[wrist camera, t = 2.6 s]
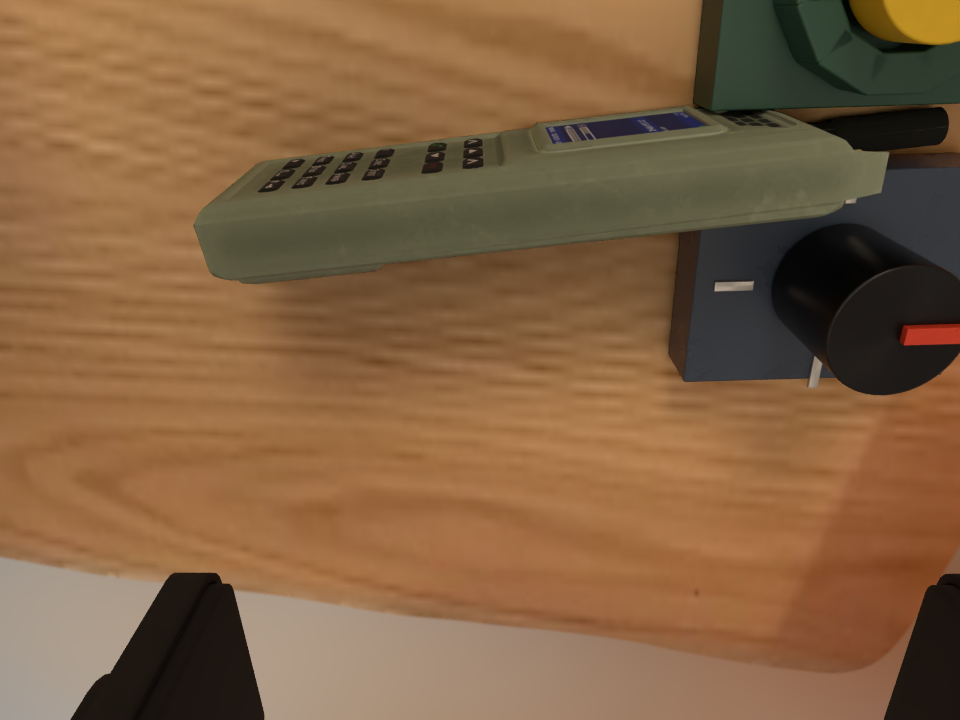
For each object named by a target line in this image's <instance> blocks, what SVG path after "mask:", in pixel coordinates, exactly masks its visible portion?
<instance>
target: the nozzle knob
mask: <svg viewBox="0 0 960 720" xmlns="http://www.w3.org/2000/svg"><path fill="white" fill-rule="evenodd" d="M772 300H773V305H774V308H775V311H776V313H777V315H778V317H779V319H780V320H781V321H782V323H783V324H784V325H785V326H786V327H787V328H788V329H789V330H790V331H791V332H792V333H793V334H794V335H795V336H796V337H797V338H798V339H799V340H800V341H801V342H802V343H803V344H804V345H805V346H806V347H807V348H808V349H809V350H810V351H811V352H812V354H813V355H814V356H815V357H816V358H817V359H818V360H819V361H820V362H821V363H822V364H823V365H824V366H825V367H826V368H827V369H828V370H829V371H830V372H831V373H832V374H833V375H834V376H835V377H836V378H837V379H838V380H839V381H840V382H841V383H842V384H844V385H845V386H847V387H849V388H851V389H853V390H855V391H858V392H861V393H865V394H871V395H892V394H897V393H902V392H905V391H909V390H911V389H914V388H916V387H919V386H921V385H923V384H925V383H927V382H928V381H930V380H931V379H933V378H934V377H936V376H937V375H939V374H940V373H941V372H942V371H944V370H945V369H946V368H947V367H948V366H949V365H950V364H951V363H952V362H953V360H954V359H955V358H956V357H957V356H958V354H959V353H960V280H959V279H958V278H957V277H956V276H955V275H953V274H952V273H951V272H949V271H947V270H945V269H944V268H942V267H940V266H938V265H936V264H935V263H933V262H931V261H929V260H927V259H926V258H924V257H922V256H920V255H918V254H917V253H915V252H913V251H911V250H909V249H908V248H906V247H904V246H902V245H900V244H899V243H897V242H895V241H893V240H891V239H890V238H888V237H886V236H884V235H882V234H881V233H879V232H877V231H875V230H873V229H871V228H869V227H866V226H863V225H858V224H837V225H832V226H828V227H825V228H822V229H820V230H817V231H815V232H813V233H811V234H810V235H808V236H806V237H805V238H803V239H802V240H801V241H800V242H798V243H797V244H796V245H795V246H794V247H793V248H792V249H791V250H790V251H789V252H788V253H787V255H786V256H785V257H784V259H783V260H782V262H781V264H780V266H779V267H778V269H777V272H776V275H775V278H774V282H773V288H772Z"/></svg>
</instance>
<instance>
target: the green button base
mask: <svg viewBox="0 0 960 720" xmlns="http://www.w3.org/2000/svg"><path fill="white" fill-rule="evenodd" d="M693 103H694V104H697V105H699V106H701V107H704V108H706V109H708V110H710V111H736V110H767V109H799V108H831V107H863V106H895V105H927V104H958V103H960V41H959V42H955V43H951V44H944V45H927V44H914V43H902V42H891V41H886V40H883V39H880V38H877V37H876V36H874V35H872V34H870V33H869V32H868V31H867V30H865V29H864V28H863V27H862V26H861V24H860V23H859V22H858V21H857V19H856V17H855V16H854V14H853V12H852V9H851V7H850V4H849V0H703V8H702V18H701V28H700V39H699V49H698V59H697V69H696V79H695V89H694V99H693Z"/></svg>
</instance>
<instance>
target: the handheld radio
mask: <svg viewBox="0 0 960 720" xmlns="http://www.w3.org/2000/svg"><path fill="white" fill-rule="evenodd" d="M948 127H949V119H948V115H947V112H946V111H945V110H944V109H943V108H942V107H935V108H927V109H918V110H909V111H901V112H892V113H883V114H875V115H866V116H857V117H849V118H840V119H831V120H827V121H826V122H825V123H816V124H806V123H804V122H802V121H799V120H797V119H794V118H792V117H790V116H787V115H785V114H783V113H780V112H778V111H775V110H773V109H767V110H736V111H710V110H708V109H706V108H704V109H693V108H691V107H690V106H688V105H686V106H683V107H675V108H667V109H658V110H650V111H641V112H633V113H624V114H616V115H607V116H598V117H590V118H581V119H573V120H564V121H556V122H547V123H536V124H535V125H534V126H533V128H527V129H518V130H509V131H503V132H497V133H489V134H480V135H472V136H464V137H456V138H448V139H440V140H432V141H424V142H415V143H407V144H399V145H391V146H383V147H375V148H367V149H359V150H351V151H342V152H334V153H326V154H318V155H310V156H302V157H294V158H286V159H278V160H270V161H263V162H260V163H258V164H257V165H255V166H254V167H253V168H252V169H250V170H249V171H248V172H247V173H245V174H244V175H243V176H242V177H241V178H239V179H238V180H237V181H236V182H235V183H233V184H232V185H231V186H230V187H229V188H227V189H226V190H225V191H224V192H223V193H221V194H220V195H219V196H218V197H216V198H215V199H214V200H213V201H212V202H210V203H209V204H208V205H207V206H206V207H204V208H203V209H202V210H201V212H200V213H199V215H198V217H197V219H196V221H195V223H194V228H195V231H196V234H197V237H198V240H199V242H200V245H201V248H202V251H203V254H204V257H205V260H206V263H207V266H208V268H209V271H210V273H211V274H212V275H213V276H215V277H218V278H221V279H226V280H239V281H240V282H241V283H244V284H262V283H271V282H281V281H290V280H299V279H308V278H318V277H327V276H336V275H345V274H355V273H364V272H373V271H376V270H378V269H381V266H382V265H383V264H392V263H401V262H411V261H420V260H429V259H438V258H447V257H457V256H466V255H475V254H484V253H493V252H503V251H512V250H521V249H530V248H539V247H548V246H558V245H567V244H576V243H585V242H594V241H604V240H613V239H622V238H631V237H640V236H649V235H659V234H668V233H677V232H686V231H695V230H705V229H714V228H723V227H732V226H741V225H751V224H760V223H769V222H778V221H787V220H796V219H806V218H815V217H821V216H825V215H828V214H830V213H833V212H835V211H836V210H838V209H840V208H841V207H842V206H843V205H844V201H846V200H850V199H855V198H859V197H864V196H868V195H873V194H877V193H881V190H882V186H883V181H884V176H885V171H886V166H887V161H888V156H889V152H876V151H885V150H894V149H903V148H912V147H921V146H930V145H938V144H940V143H941V142H943V140H944V139H945V137H946V135H947V132H948Z"/></svg>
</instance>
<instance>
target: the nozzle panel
mask: <svg viewBox="0 0 960 720" xmlns="http://www.w3.org/2000/svg"><path fill="white" fill-rule="evenodd" d="M837 224H858V225H863V226H866V227H869V228H871V229H873V230H875V231H877V232H879V233H881V234H882V235H884V236H886V237H888V238H890V239H891V240H893V241H895V242H897V243H899V244H900V245H902V246H904V247H906V248H908V249H909V250H911V251H913V252H915V253H917V254H918V255H920V256H922V257H924V258H926V259H927V260H929V261H931V262H933V263H935V264H936V265H938V266H940V267H942V268H944V269H945V270H947V271H949V272H951V273H952V274H953V275H955V276H956V277H957V278H958V279H959V280H960V153H935V154H902V155H889V156H888V161H887V166H886V171H885V176H884V181H883V186H882V190H881V193H877V194H873V195H868V196H864V197H859V198H855V199H850V200H846V201H844V205H843V206H842V207H841V208H840V209H838V210H836V211H835V212H833V213H830V214H828V215H825V216H821V217H815V218H806V219H796V220H787V221H778V222H769V223H760V224H751V225H741V226H732V227H723V228H714V229H705V230H695V231H686V232H681V233H680V243H679V253H678V263H677V273H676V283H675V294H674V304H673V314H672V324H671V334H670V344H669V356H670V358H671V360H672V361H673V363H674V365H675V367H676V368H677V370H678V372H679V374H680V376H681V377H682V379H683V381H684V382H699V381H734V380H770V379H806V378H808V382H807V387H808V388H817V387H818V382H819V378H836V377H835V376H834V375H833V374H832V373H831V372H830V371H829V370H828V369H827V368H826V367H825V366H824V365H823V364H822V363H821V362H820V361H819V360H818V359H817V358H816V357H815V356H814V355H813V354H812V352H811V351H810V350H809V349H808V348H807V347H806V346H805V345H804V344H803V343H802V342H801V341H800V340H799V339H798V338H797V337H796V336H795V335H794V334H793V333H792V332H791V331H790V330H789V329H788V328H787V327H786V326H785V325H784V324H783V323H782V321H781V320H780V319H779V317H778V315H777V313H776V311H775V308H774V305H773V300H772V288H773V282H774V278H775V275H776V272H777V269H778V267H779V266H780V264H781V262H782V260H783V259H784V257H785V256H786V255H787V253H788V252H789V251H790V250H791V249H792V248H793V247H794V246H795V245H796V244H797V243H798V242H800V241H801V240H802V239H803V238H805V237H806V236H808V235H810V234H811V233H813V232H815V231H817V230H820V229H822V228H825V227H828V226H832V225H837ZM941 373H942V372H941ZM941 373H940V374H941ZM940 374H939V375H940Z"/></svg>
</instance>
